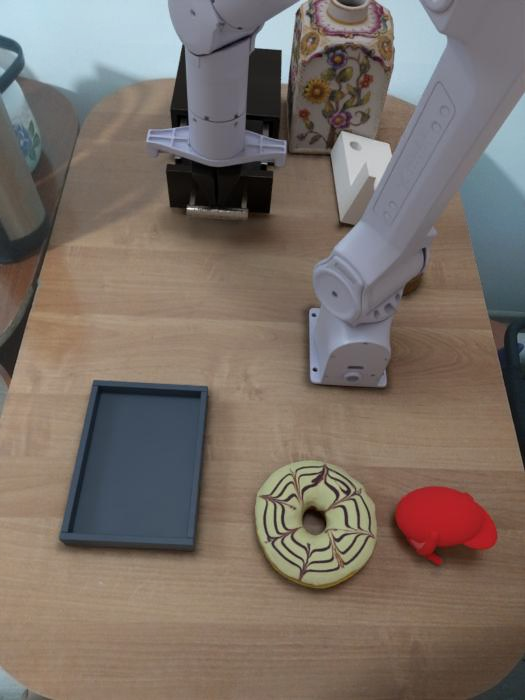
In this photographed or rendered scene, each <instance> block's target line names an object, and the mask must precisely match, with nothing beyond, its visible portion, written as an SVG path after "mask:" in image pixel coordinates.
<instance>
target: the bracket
mask: <svg viewBox="0 0 525 700" xmlns="http://www.w3.org/2000/svg"><path fill="white" fill-rule="evenodd" d="M392 155H393V154H392V150H391V144H390V143H388V142H384V141H381V140H376V139H375V140H373V139H370V138H366V137H362V136H359V135H355V134H351V133H348V132H344V131H341V133H340V135H339V137H338V139H337V141H336V143H335V144H334V146H333V148H332V150H331V155H330V159H331V165H332V173H333V179H334V185H335V186H334V187H335V193H336V198H337V206H338V213H339V221H340V223H345V224H348V225H353V226H355V225H356V224H357V223H358V222H359V221H360V220H361V218H362V216H363V214H364V212H365V210H366V208H367V206H368V204H369V202H370V200H371V198H372V196H373V194H374V192H375V190H376V188H377V186H378V184H379V182H380V180H381V178H382V176H383V174H384V172H385V170H386V168H387V166H388V164H389V162H390V160H391V157H392Z"/></svg>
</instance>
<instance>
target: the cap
mask: <svg viewBox="0 0 525 700" xmlns="http://www.w3.org/2000/svg"><path fill="white" fill-rule="evenodd" d="M394 518H395V522H396V525H397V527H398V529H399V530H400V531H401V532H402V533H403V535H405V538H406V540H407V541H408V544H410V546H412V548H414V549H415V551H416V554H418V555H419V556H424V557H425V558H426V559H427V560H429V561H431V562H432V563H434V564H435V565H437V566H441V565H442V564H443V559H442V558H441V557H440V556H438V555H437V554H436V553H434V551H435V549H436V548H437V547H438V548H447V547H454V546H459V545H461V544H462V545H464V546H466V547H468V548H471V549H474V550H477V551H478V550H479V551H485V550H489V549H491V548H493V547H494V546H495V545H496V544H497V541H498V536H499V535H498V529H497V525H496V524H495V522H494V520H493V518H492V517H491V515H490V514H489V513H488V511H486V509H484V507H482V505H480V504H479V503H478V502H476V501H475V499H474V497H473V496H472V495H471V494H470V493H469V492H467V491H466V492H465V491H464V492H462V491H460V490H458V489H455V488H452V487H448V486H439V485H432V486H431V485H430V486H423V487H420V488H416V489H414V490H411V491H410V492H408V493H406V494H405V495H403V496H401V498H400V501H399V502H398V503H397V505H396V507H395V512H394Z"/></svg>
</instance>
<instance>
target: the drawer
mask: <svg viewBox="0 0 525 700" xmlns="http://www.w3.org/2000/svg"><path fill="white" fill-rule="evenodd" d="M184 126H189V117H188V116H186V115H182V116H181V122H180V127H184ZM245 130H248V131H251V132H254V133H257V134H260V135H263V136H266V137H269V121H257V120H246V124H245ZM173 157H174V163H167V164H166V168H165V175H166V184H167V185H166V186H167V191H168V192H167V195H168V203H169V204H168V205H169V208H173V209H186V217H187V218H196V219H197V218H200V219H215V220H227V221H228V220H229V221H245V222H246V221H248V219H249V213H250V214H264V215H270V214H271V205H272V196H273V186H274V185H273V184H274V170H268V167H269V165H268V162H263V161H254V162H248V163H242V168H241V176H240V178H239V181H238V182H237V183H236V184H235V185H234V186H233V188H232V189H231V191H230V192H229V194H228V196H227V198H226V200H225V203H224V206H223V207H220V206H210V204H209V201H208V199H207V196H206V194H205V192H204V191H203V189H202V187H201V186H200V185H199V183H198V182H197V181H196V180H195V179H194V178H193V175H192V172H191V167H192V160H190V159H187V158H184V157H181V156H178V155H175V156H173ZM217 175H218V167H217ZM217 182H218V180H217Z"/></svg>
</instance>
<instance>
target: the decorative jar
mask: <svg viewBox="0 0 525 700" xmlns="http://www.w3.org/2000/svg"><path fill="white" fill-rule="evenodd" d="M294 15H295V16H294V17H295V18H294V25H293V34H292V44H291V51H290V53H291V54H290V61H289V69H288V70H289V71H288V80H287V81H288V82H287V93H286V127H287V148H288V151H289V153H291V154H306V155H307V154H308V155H309V154H311V155H312V154H314V155H330V156H331V150H332V148H333V146H334V144H335V143H336V141H337V139H338V137H339V135H340V133H341V131H344V132H348V133H351V134H355V135H359V136H362V137H366V138H370V139H373V140H376V138H377V134H378V131H379V126H380V124H381V120H382V115H383V111H384V107H385V103H386V99H387V96H388V91H389V88H390V83H391V79H392V75H393V72H394V68H395V53H396V47H395V46H394V40H395V23H394V19H393V16H392V14H391V11H390V10H389V9H388V8H386V7H385V6H384V5H382V4H380V3H379V2H378V1H377V0H306V1H305V2H303V3H301V4H300V5H299V7H298V8H297V9H296V12H295V14H294Z"/></svg>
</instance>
